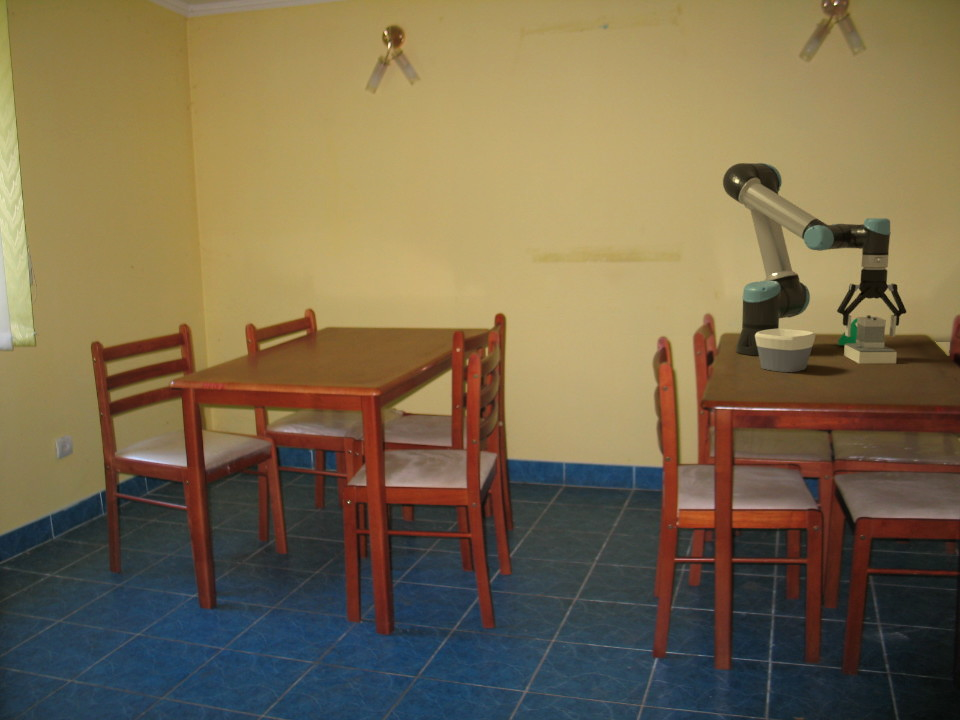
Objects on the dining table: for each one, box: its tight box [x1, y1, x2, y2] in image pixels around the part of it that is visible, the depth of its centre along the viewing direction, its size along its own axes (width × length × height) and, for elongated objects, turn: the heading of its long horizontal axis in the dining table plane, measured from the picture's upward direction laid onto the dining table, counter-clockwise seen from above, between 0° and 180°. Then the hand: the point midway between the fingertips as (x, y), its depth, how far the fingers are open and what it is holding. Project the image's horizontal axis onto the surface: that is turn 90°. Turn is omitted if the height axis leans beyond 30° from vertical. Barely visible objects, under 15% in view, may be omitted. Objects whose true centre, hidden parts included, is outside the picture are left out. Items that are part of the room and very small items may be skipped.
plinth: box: [843, 343, 897, 365], centre depth 283 cm, size 11×15×4 cm
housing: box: [856, 315, 887, 349], centre depth 282 cm, size 6×8×10 cm
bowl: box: [755, 328, 816, 373], centre depth 269 cm, size 15×15×11 cm
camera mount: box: [837, 317, 857, 346], centre depth 306 cm, size 12×8×10 cm, turn 64°
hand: (869, 336), depth 282 cm, fingers open, 13 cm apart
